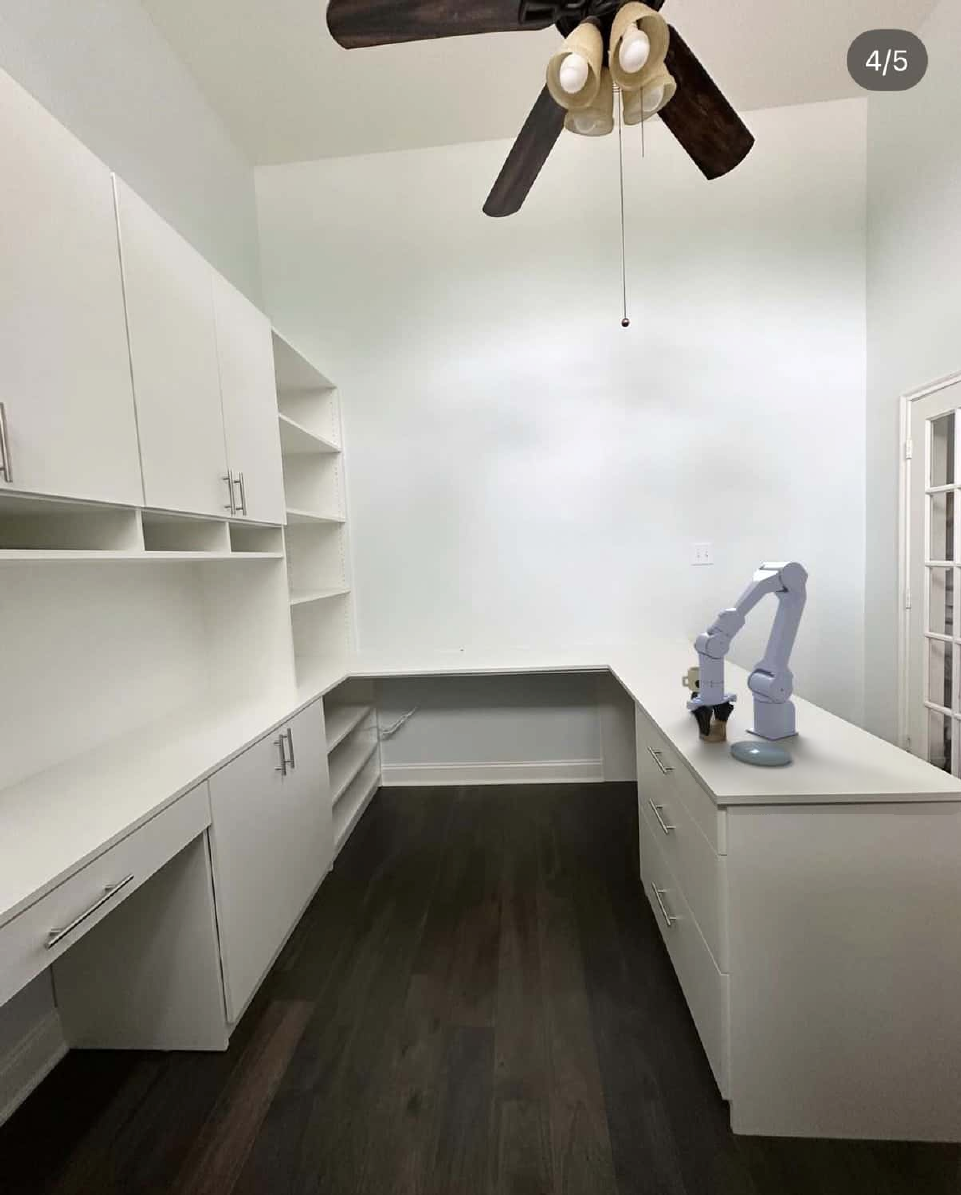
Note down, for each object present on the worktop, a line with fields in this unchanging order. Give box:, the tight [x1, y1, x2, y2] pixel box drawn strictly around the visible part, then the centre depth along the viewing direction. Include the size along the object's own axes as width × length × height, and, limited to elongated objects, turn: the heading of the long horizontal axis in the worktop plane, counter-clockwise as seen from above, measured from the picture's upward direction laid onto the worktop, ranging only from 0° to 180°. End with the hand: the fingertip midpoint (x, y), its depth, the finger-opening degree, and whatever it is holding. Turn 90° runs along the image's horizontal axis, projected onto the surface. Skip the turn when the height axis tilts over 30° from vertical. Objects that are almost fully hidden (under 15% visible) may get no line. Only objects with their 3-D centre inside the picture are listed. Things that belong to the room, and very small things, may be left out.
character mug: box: [681, 666, 714, 712], centre depth 147 cm, size 11×7×13 cm, turn 90°
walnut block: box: [698, 716, 727, 744], centre depth 127 cm, size 4×4×4 cm
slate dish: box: [730, 740, 792, 767], centre depth 116 cm, size 12×12×1 cm
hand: (712, 733), depth 127 cm, fingers closed on walnut block, 4 cm apart
